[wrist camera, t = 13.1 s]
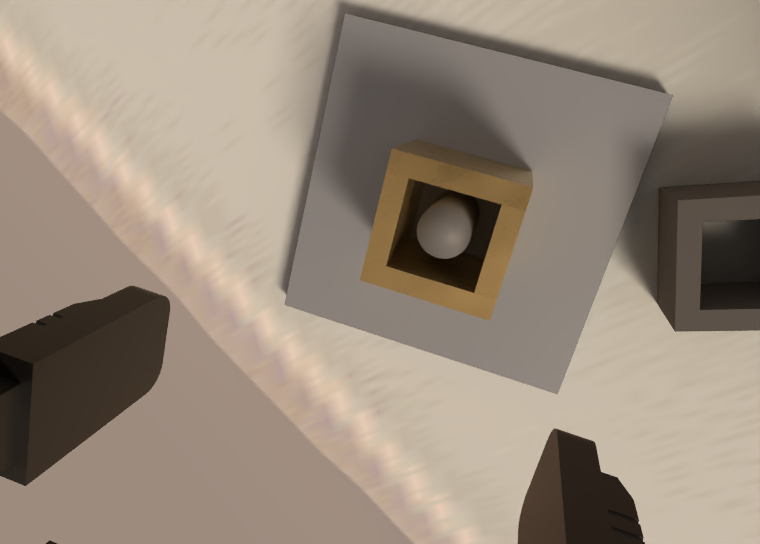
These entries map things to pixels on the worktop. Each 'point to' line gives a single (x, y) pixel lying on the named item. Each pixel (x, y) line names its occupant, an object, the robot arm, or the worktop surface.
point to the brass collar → (405, 254)
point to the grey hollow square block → (684, 254)
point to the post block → (468, 213)
